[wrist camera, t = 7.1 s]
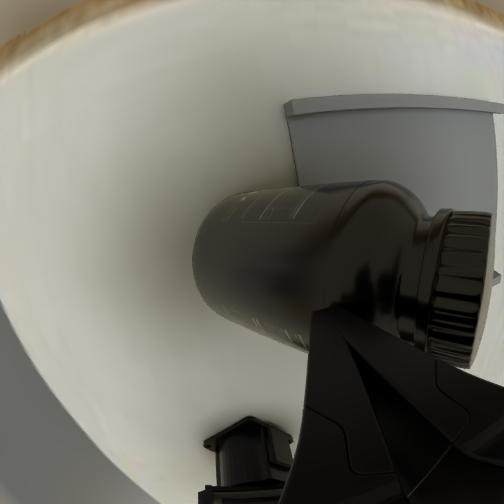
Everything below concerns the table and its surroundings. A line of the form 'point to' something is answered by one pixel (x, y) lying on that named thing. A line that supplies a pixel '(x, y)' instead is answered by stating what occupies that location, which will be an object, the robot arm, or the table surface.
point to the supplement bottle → (349, 264)
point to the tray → (401, 146)
